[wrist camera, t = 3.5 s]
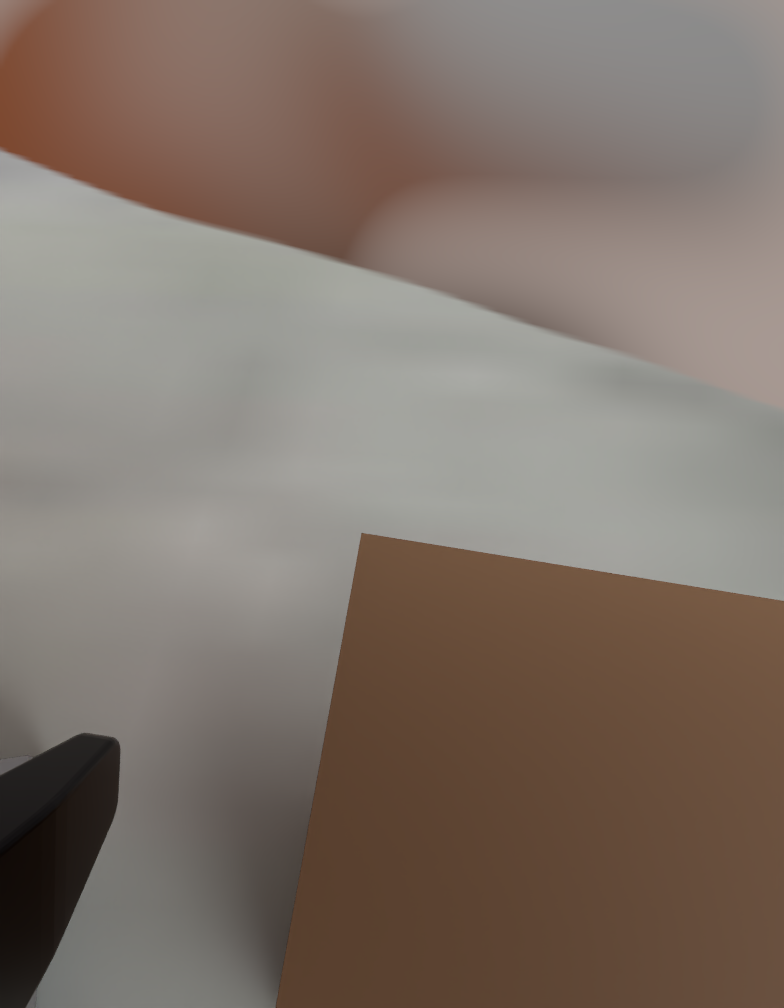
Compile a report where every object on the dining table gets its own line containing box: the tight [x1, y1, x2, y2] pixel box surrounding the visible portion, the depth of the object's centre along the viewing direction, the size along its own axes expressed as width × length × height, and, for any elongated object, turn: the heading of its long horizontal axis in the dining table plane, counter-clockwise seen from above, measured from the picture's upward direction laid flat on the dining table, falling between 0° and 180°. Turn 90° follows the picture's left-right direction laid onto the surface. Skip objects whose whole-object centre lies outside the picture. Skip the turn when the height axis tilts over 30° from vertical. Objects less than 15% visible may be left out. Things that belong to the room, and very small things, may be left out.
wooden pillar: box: [276, 533, 784, 1008], centre depth 8 cm, size 4×4×12 cm
